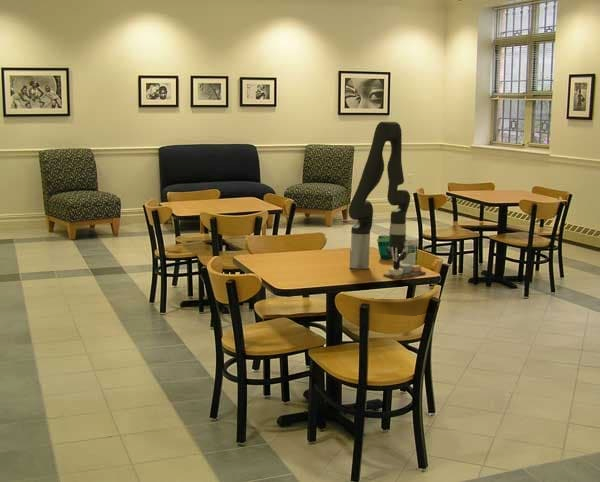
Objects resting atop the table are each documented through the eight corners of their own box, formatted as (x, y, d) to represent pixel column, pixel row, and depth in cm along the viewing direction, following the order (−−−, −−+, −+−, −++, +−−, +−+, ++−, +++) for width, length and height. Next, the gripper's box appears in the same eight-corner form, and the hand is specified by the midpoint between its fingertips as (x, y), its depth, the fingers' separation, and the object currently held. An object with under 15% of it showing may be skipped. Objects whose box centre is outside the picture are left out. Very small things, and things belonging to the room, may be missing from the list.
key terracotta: (414, 274, 383) (414, 267, 383) (406, 272, 387) (406, 265, 386) (420, 273, 386) (421, 266, 386) (413, 271, 390) (413, 264, 389)
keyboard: (397, 279, 373) (397, 277, 372) (383, 276, 379) (383, 273, 379) (425, 274, 386) (425, 271, 385) (411, 271, 392) (411, 268, 392)
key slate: (405, 273, 379) (405, 266, 378) (397, 272, 382) (398, 264, 382) (412, 272, 382) (412, 265, 381) (404, 270, 386) (404, 263, 385)
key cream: (395, 278, 375) (396, 270, 374) (388, 276, 378) (388, 268, 378) (402, 276, 378) (403, 269, 377) (395, 275, 382) (395, 267, 381)
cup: (391, 260, 416) (391, 238, 414) (375, 260, 417) (376, 237, 415) (392, 258, 424) (393, 235, 422) (377, 257, 425) (377, 234, 423)
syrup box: (406, 268, 399) (407, 239, 396) (401, 265, 405) (402, 237, 402) (416, 267, 401) (418, 239, 398) (412, 265, 406) (413, 236, 404)
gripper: (413, 233, 372) (412, 270, 375) (392, 230, 382) (391, 266, 385) (403, 235, 367) (401, 272, 370) (381, 231, 377) (380, 267, 380)
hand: (396, 269), depth 377 cm, fingers closed
